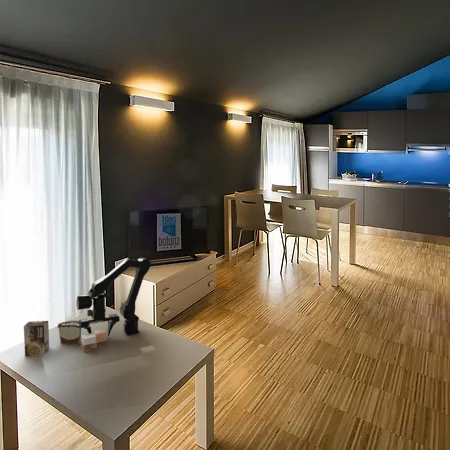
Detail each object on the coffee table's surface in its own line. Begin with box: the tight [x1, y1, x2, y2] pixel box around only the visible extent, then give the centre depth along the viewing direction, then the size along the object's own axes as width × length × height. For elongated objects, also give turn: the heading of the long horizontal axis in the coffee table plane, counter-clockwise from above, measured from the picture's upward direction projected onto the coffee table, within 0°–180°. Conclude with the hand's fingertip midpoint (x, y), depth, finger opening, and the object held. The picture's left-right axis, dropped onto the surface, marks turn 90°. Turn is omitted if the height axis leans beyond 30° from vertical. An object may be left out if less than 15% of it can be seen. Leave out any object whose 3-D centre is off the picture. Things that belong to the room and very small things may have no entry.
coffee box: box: [23, 320, 50, 357], centre depth 174 cm, size 9×6×16 cm
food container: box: [57, 320, 83, 346], centre depth 185 cm, size 12×6×10 cm, turn 83°
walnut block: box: [80, 341, 98, 353], centre depth 177 cm, size 6×6×4 cm
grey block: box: [80, 332, 96, 345], centre depth 176 cm, size 6×6×3 cm
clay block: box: [93, 328, 107, 344], centre depth 187 cm, size 5×5×4 cm
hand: (99, 337), depth 187 cm, fingers open, 8 cm apart
